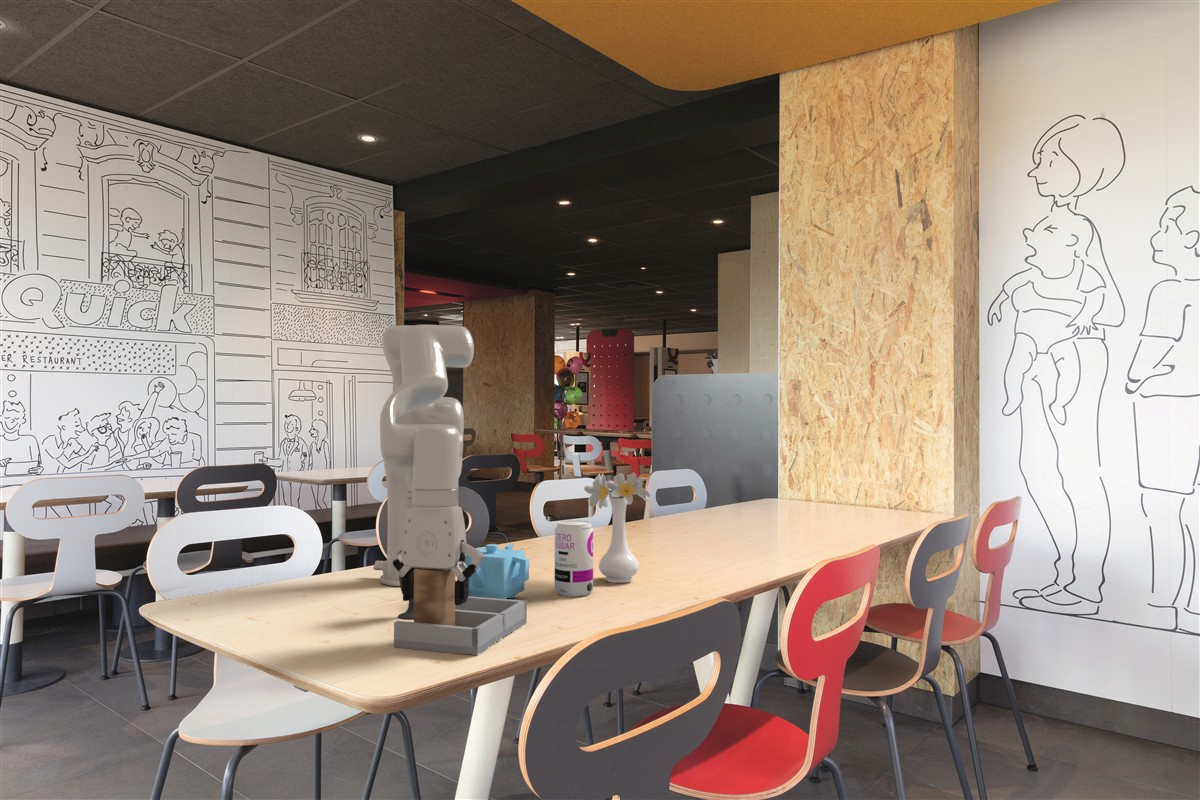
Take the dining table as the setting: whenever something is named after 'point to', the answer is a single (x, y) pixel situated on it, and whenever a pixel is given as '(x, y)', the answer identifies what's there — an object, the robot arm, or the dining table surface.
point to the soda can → (574, 558)
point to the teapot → (499, 573)
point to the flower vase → (617, 523)
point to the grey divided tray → (465, 627)
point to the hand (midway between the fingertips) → (434, 601)
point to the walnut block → (434, 596)
